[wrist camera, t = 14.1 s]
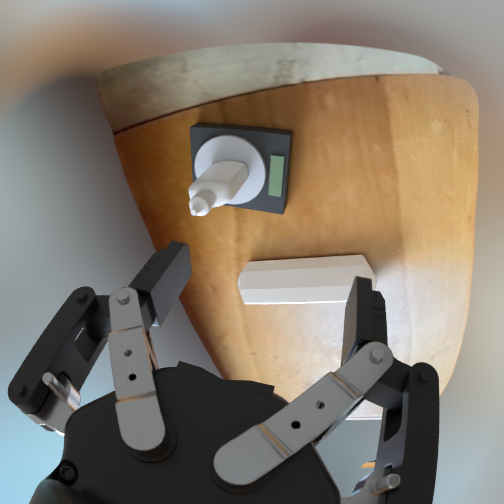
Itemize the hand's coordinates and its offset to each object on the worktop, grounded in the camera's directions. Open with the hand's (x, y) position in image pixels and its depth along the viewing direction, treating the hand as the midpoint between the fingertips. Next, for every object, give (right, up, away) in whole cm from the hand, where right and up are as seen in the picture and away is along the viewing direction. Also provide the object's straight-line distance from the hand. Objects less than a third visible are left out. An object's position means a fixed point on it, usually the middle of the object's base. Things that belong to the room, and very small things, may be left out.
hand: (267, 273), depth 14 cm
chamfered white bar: (+9, -3, +38) cm, 39 cm away
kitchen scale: (-2, +14, +29) cm, 32 cm away
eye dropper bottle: (-4, +12, +27) cm, 30 cm away
